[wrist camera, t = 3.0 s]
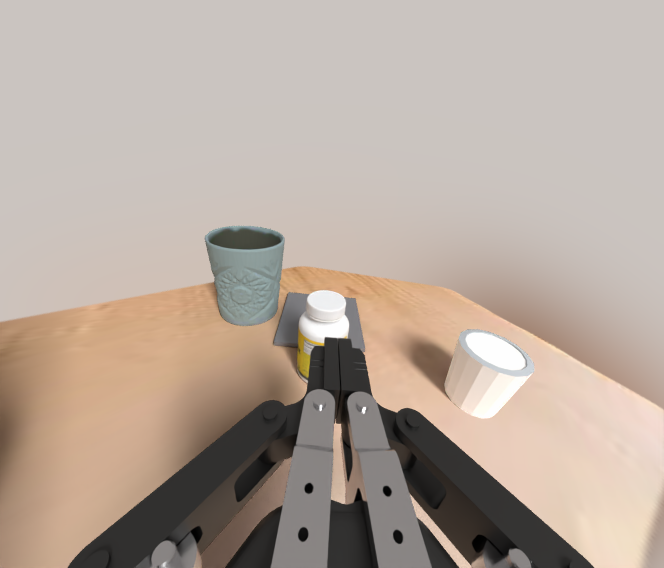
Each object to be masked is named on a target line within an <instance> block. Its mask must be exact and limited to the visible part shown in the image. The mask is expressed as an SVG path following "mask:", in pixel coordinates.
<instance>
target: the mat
mask: <svg viewBox="0 0 664 568" xmlns="http://www.w3.org/2000/svg"><path fill="white" fill-rule="evenodd" d="M309 295H310V294H301V293H290V292H289V293H288V296H287V299H286V303H285V306H284V309H283V313H282V316H281V320H280V323H279V326H278V330H277V333H276V336H275V340H274V345H277V346H290V347H298V329H299V320H300V317H301V315H302V314H303V313H304V312H305V311H306V305H307V297H308V296H309ZM344 298H345V300H346V308H345V314H344V315H345V316H346V317H347V319H348V321H349V332H348V338H349V339H351V342H352V348H360V350H361V351H362V352H365V345H364V340H363V335H362V330H361V324H360V319H359V314H358V309H357V304H356V299H355V298H346V297H344Z"/></svg>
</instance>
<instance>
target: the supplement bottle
mask: <svg viewBox="0 0 664 568" xmlns="http://www.w3.org/2000/svg"><path fill="white" fill-rule="evenodd" d="M345 308H346V300H345V298H344V297H343V296H342V295H340V294H338V293H336V292H333V291H327V290H320V291H315V292H313V293H311V294H310V295H309V296H308V297H307V305H306V311H305V312H304V313H303V314H302V315H301V317H300V320H299V329H298V353H297V371H298V374H299V376H300V377H301V379H302V380H303V381H305V382H306V383H308V375H309V364H310V354H311V351H312V349H313V348H314V346H324V339H325V337H334V338H337V339H338V338H348V332H349V321H348V319H347V317H346V316H345V315H344V314H345Z"/></svg>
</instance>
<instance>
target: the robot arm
mask: <svg viewBox="0 0 664 568" xmlns="http://www.w3.org/2000/svg"><path fill="white" fill-rule="evenodd" d="M335 419H336V423H337V424H341V428H342V433H341V439H340V441H341V450H342V459H343V468H344V477H345V487H346V495H345V503H346V504H341V503H339V502H336V501H333V500H331V486H332V467H333V431H334V423H335ZM290 457H292V461H291V466H290V471H289V476H288V482H287V487H286V492H285V497H284V502H283V505H282V506H280V507H278V508H276V509H275V510H273V511H272V512H270V513H269V514H268V515H267V516H266V517H264V518H263V519H262V520H261V521H260V523H259V524H258V525H257V526H256V527H255V528H254V530H253V531H252V532H251V534H250V535H249V536H248V538H247V539H246V540H245V542H244V543H243V544H242V546H241V547H240V548H239V550H238V551H237V552H236V554H235V555H234V556H233V558H232V559H231V560H230V562H229V563H228V564H227V566H226V567H225V568H459V567H458V566H457V564H456V563H455V562H454V560H453V559H452V558H451V557H450V555H449V554H448V553H447V552H446V550H445V549H444V548H443V546H442V545H441V544H440V543H439V541H438V540H437V539H436V537H435V536H434V535H433V534H432V532H431V531H430V530H429V529H428V528H427V527H426V526H425V524H424V523H423V522H422V521H420V520H419V519H418V518H417V517H416V514H415V511H414V507H413V504H412V501H411V497H410V494H411V495H412V497H413V498H414V499H415V500H416V501H417V503H418V504H419V505H420V506H421V507H422V508H423V510H424V511H425V512H426V513H427V514H428V515H429V517H430V518H431V519H432V520H433V521H434V522H435V524H436V525H437V526H438V527H439V528H440V530H441V531H442V532H443V533H444V534H445V535H446V537H447V538H448V539H449V540H450V541H451V542H452V544H453V545H454V546H455V547H456V548H457V550H458V551H459V552H460V553H461V554H462V555H463V557H464V558H465V559H466V560H467V561H468V562H469V564H470V565H471V568H594V567H593V566H592V565H591V564H590V563H589V562H588V561H587V560H586V559H585V558H584V557H583V556H582V555H581V554H580V553H578V552H577V551H576V550H575V549H574V548H573V547H572V546H571V545H569V544H568V543H567V542H566V541H565V540H564V539H563V538H561V537H560V536H559V535H558V534H557V533H556V532H555V531H553V530H552V529H551V528H550V527H549V526H548V525H547V524H546V523H544V522H543V521H542V520H541V519H540V518H539V517H538V516H536V515H535V514H534V513H533V512H532V511H531V510H530V509H528V508H527V507H526V506H525V505H524V504H523V503H522V502H520V501H519V500H518V499H517V498H516V497H515V496H514V495H513V494H511V493H510V492H509V491H508V490H507V489H506V488H505V487H503V486H502V485H501V484H500V483H499V482H498V481H497V480H495V479H494V478H493V477H492V476H491V475H490V474H489V473H488V472H486V471H485V470H484V469H483V468H482V467H481V466H480V465H478V464H477V463H476V462H475V461H474V460H473V459H472V458H470V457H469V456H468V455H467V454H466V453H465V452H464V451H462V450H461V449H460V448H459V447H458V446H457V445H456V444H455V443H453V442H452V441H451V440H450V439H449V438H448V437H447V436H445V435H444V434H443V433H442V432H441V431H440V430H439V429H437V428H436V427H435V426H434V425H433V424H432V423H431V422H429V421H428V420H427V419H426V418H425V417H424V416H423V415H422V414H420V413H419V412H417V411H416V410H413V409H410V408H404V409H401V410H400V411H399V412H398V413H396V412H393V411H391V410H388V409H385V408H383V407H382V406H380V405H379V404H378V403H377V402H376V400H375V399H374V398H373V396H372V393H371V387H370V382H369V377H368V371H367V366H366V361H365V355H364V354H363V352H362V351H361V350H360V348H352V342H351V339H349V338H338V339H337V338H334V337H325V339H324V346H314V348H313V349H312V351H311V354H310V364H309V375H308V385H307V392H306V394H305V396H304V397H303V399H301V400H300V401H299V402H297V403H295V404H291V405H287V406H284V405H283V404H282V403H281V402H279V401H275V400H270V401H266V402H264V403H262V404H260V405H259V406H258V407H256V408H255V409H254V410H253V411H252V412H250V413H249V414H248V415H247V416H245V417H244V418H243V419H242V420H241V421H239V422H238V423H237V424H236V425H234V426H233V427H232V428H231V429H230V430H228V431H227V432H226V433H225V434H223V435H222V436H221V437H220V438H218V439H217V440H216V441H215V442H214V443H212V444H211V445H210V446H209V447H207V448H206V449H205V450H204V451H203V452H201V453H200V454H199V455H198V456H196V457H195V458H194V459H193V460H192V461H190V462H189V463H188V464H187V465H185V466H184V467H183V468H182V469H180V470H179V471H178V472H177V473H176V474H174V475H173V476H172V477H171V478H169V479H168V480H167V481H166V482H165V483H163V484H162V485H161V486H160V487H158V488H157V489H156V490H155V491H153V492H152V493H151V494H150V495H149V496H147V497H146V498H145V499H144V500H142V501H141V502H140V503H139V504H138V505H136V506H135V507H134V508H133V509H131V510H130V511H129V512H128V513H127V514H125V515H124V516H123V517H122V518H120V519H119V520H118V521H117V522H115V523H114V524H113V525H112V526H111V527H109V528H108V529H107V530H106V531H104V532H103V533H102V534H101V535H100V536H98V537H97V538H96V539H95V540H93V541H92V542H91V543H90V544H88V545H87V546H86V547H85V548H84V549H83V550H82V551H81V552H80V553H79V554H78V555H77V556H76V557H75V558H74V560H73V561H72V562H71V563H70V565H69V566H68V568H202V559H201V554H202V552H203V551H204V550H205V549H206V548H207V547H208V546H209V545H210V543H211V542H212V541H213V540H214V539H215V538H216V537H217V536H218V535H219V533H220V532H221V531H222V530H223V529H224V528H225V527H226V526H227V524H228V523H229V522H230V521H231V520H232V519H233V518H234V517H235V515H236V514H237V513H238V512H239V511H240V510H241V509H242V508H243V506H244V505H245V504H246V503H247V502H248V501H249V500H250V499H251V497H252V496H253V495H254V494H255V493H256V492H257V491H258V490H259V488H260V487H261V486H262V485H263V484H264V483H265V482H266V481H267V479H268V478H269V477H270V476H271V475H272V474H273V473H274V472H275V470H276V469H277V468H278V467H279V466H280V465H281V464H282V462H283V461H284V459H287V458H290ZM409 493H410V494H409Z"/></svg>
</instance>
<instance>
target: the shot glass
mask: <svg viewBox="0 0 664 568" xmlns="http://www.w3.org/2000/svg"><path fill="white" fill-rule="evenodd" d="M533 372H534V363H533V361H532V360H531V358H530V357H529V356H528V354H527V353H526V352H524V351H523V350H522V349H521V348H520V347H518V346H517V345H516V344H514V343H512V342H511V341H509V340H507V339H505V338H504V337H501V336H499V335H496V334H494V333H491V332H487V331H483V330H478V329H468V330H466V331H463V332H461V334H460V336H459V339H458V342H457V345H456V348H455V351H454V355H453V358H452V361H451V364H450V367H449V371H448V374H447V377H446V380H445V383H444V387H445V392H446V394H447V395H448V397H449V398H450V400H451V401H452V402H453V403H454V404H455V405H456V406H457V407H458V408H459V409H461V410H463V411H464V412H466V413H468V414H470V415H472V416H475V417H479V418H491V417H492V416H494V415H495V414H496V413H497V412H498V411H499V410H500V409H501V408H502V407H503V405H504V404H505V403H506V402H507V401H508V400H509V399H510V398H511V397H512V396H513V394H514V393H515V392H516V391H517V390H518V389H519V388H520V387H521V386H522V384H523V383H524V382H525V381H526V380H527V379H528V378H529V377H530V376H531V375H532V373H533Z"/></svg>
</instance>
